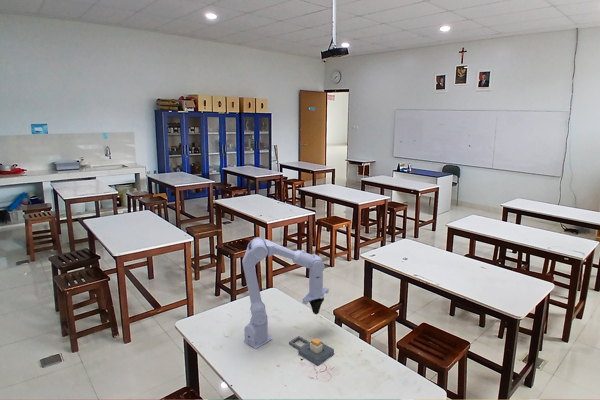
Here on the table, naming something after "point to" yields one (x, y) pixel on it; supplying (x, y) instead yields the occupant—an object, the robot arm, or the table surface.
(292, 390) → the table surface
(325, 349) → the port block
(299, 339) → the grey mounting plate
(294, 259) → the robot arm
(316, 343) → the plug
